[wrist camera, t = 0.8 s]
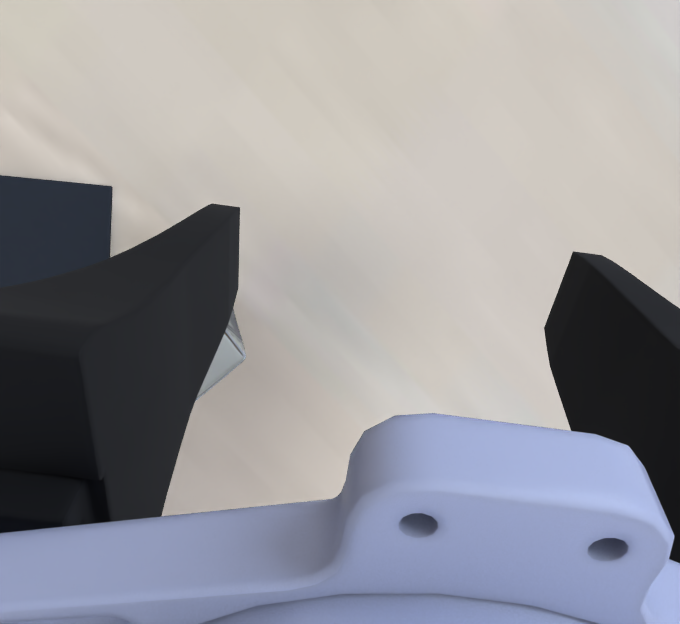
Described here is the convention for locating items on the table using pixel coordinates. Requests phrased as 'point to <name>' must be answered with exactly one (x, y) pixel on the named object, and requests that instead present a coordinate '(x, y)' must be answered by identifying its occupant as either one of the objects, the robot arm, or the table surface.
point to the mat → (51, 228)
